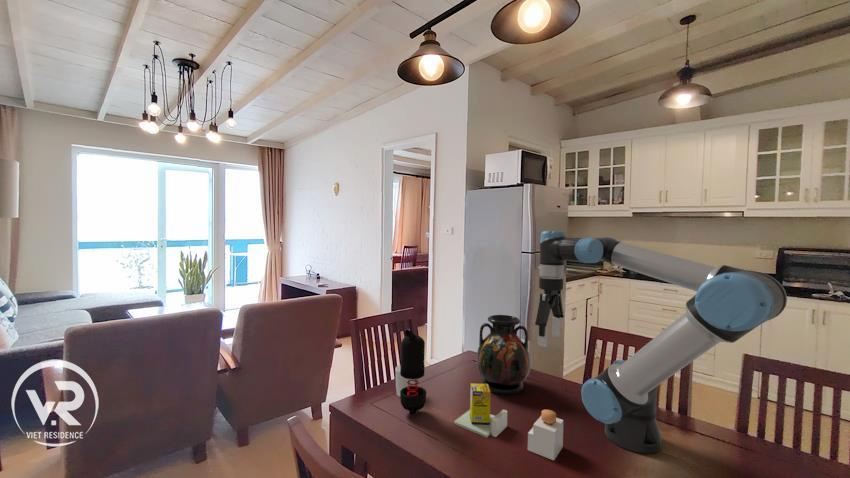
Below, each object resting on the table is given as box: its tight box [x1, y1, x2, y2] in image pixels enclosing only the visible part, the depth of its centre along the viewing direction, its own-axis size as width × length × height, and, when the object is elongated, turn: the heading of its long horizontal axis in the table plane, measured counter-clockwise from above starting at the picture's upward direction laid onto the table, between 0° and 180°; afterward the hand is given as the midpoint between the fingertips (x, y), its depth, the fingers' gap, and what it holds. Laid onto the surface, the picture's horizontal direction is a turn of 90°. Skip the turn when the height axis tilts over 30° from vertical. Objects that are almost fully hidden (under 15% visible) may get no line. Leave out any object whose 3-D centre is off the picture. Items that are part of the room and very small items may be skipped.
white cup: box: [394, 364, 415, 398], centre depth 136 cm, size 8×8×10 cm
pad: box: [453, 409, 496, 439], centre depth 116 cm, size 12×12×1 cm
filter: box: [399, 329, 427, 416], centre depth 123 cm, size 14×9×30 cm
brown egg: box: [540, 409, 557, 425], centre depth 103 cm, size 4×4×6 cm
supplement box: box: [469, 382, 491, 425], centre depth 116 cm, size 6×6×11 cm
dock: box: [490, 409, 564, 461], centre depth 107 cm, size 19×8×8 cm, turn 52°
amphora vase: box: [475, 314, 532, 395], centre depth 144 cm, size 22×22×28 cm
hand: (549, 341), depth 118 cm, fingers open, 13 cm apart
